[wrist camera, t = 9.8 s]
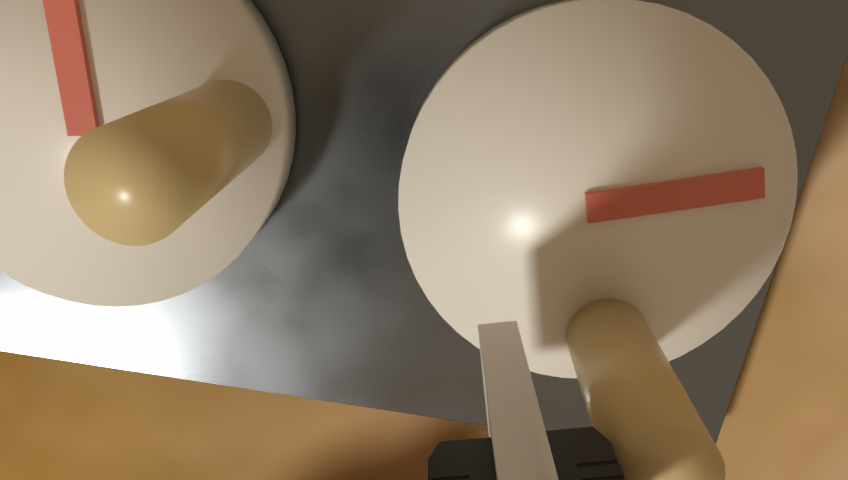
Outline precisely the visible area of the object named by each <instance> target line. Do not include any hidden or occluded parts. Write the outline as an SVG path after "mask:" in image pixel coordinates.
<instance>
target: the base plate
mask: <svg viewBox="0 0 848 480" xmlns="http://www.w3.org/2000/svg"><path fill="white" fill-rule="evenodd" d="M251 1H252V2H253V4H254V5H255V6H256V8H257V9H258V11H259V12H260V13H261V15H262V16H263V18H264V20H265V21H266V23H267V25H268V27H269V29H270V30H271V32H272V34H273V36H274V37H275V39H276V42H277V44H278V47H279V49H280V51H281V54H282V56H283V59H284V61H285V64H286V67H287V71H288V75H289V78H290V82H291V86H292V91H293V98H294V105H295V112H296V139H295V147H294V155H293V161H292V165H291V169H290V173H289V176H288V180H287V183H286V185H285V187H284V190H283V192H282V195H281V197H280V199H279V201H278V203H277V205H276V207H275V208H274V210H273V212H272V213H271V215H270V217H269V218H268V220H267V221H266V222H265V223H264V225H263V226H262V227H261V228H260V230H259V231H258V232H257V233H256V235H255V236H254V237H253V238H252V240H251V241H250V242H249V243H248V244H247V246H246V247H245V248H244V249H243V251H242V252H241V253H240V254H239V256H238V257H237V258H236V259H234V260H233V261H232V262H231V263H230V264H229V265H228V266H227V267H226V268H225V269H224V270H223V271H221V272H220V273H219V274H217V275H216V276H214V277H213V278H211V279H210V280H208V281H207V282H205V283H204V284H202V285H200V286H198V287H196V288H194V289H192V290H190V291H188V292H186V293H184V294H182V295H179V296H176V297H173V298H170V299H167V300H164V301H160V302H154V303H149V304H144V305H137V306H121V307H112V306H95V305H88V304H83V303H77V302H71V301H67V300H64V299H61V298H57V297H54V296H50V295H47V294H44V293H42V292H40V291H37V290H35V289H33V288H30V287H28V286H25V285H23V284H21V283H20V282H18V281H16V280H14V279H12V278H11V277H9V276H7V275H5V274H3V273H1V272H0V351H4V352H11V353H17V354H24V355H30V356H37V357H44V358H50V359H57V360H63V361H70V362H76V363H83V364H89V365H96V366H102V367H109V368H115V369H122V370H128V371H135V372H141V373H148V374H154V375H161V376H167V377H174V378H180V379H187V380H193V381H200V382H206V383H213V384H219V385H226V386H232V387H239V388H245V389H252V390H258V391H265V392H271V393H278V394H284V395H291V396H297V397H304V398H310V399H317V400H323V401H330V402H336V403H343V404H349V405H356V406H363V407H369V408H376V409H382V410H389V411H395V412H402V413H408V414H415V415H421V416H428V417H434V418H441V419H447V420H454V421H460V422H467V423H473V424H480V425H486V426H488V423H487V414H486V404H485V394H484V384H483V374H482V364H481V355H480V349H479V348H477V347H476V346H474V345H473V344H472V343H470V342H469V341H468V340H466V339H465V338H464V337H462V336H461V335H460V334H459V333H457V332H456V331H455V330H454V329H453V328H452V327H451V326H450V325H449V324H448V323H447V322H446V321H445V320H444V319H443V318H442V317H441V315H440V314H439V313H438V312H437V310H436V309H435V308H434V306H433V305H432V304H431V303H430V301H429V300H428V299H427V297H426V295H425V293H424V292H423V290H422V288H421V287H420V285H419V283H418V281H417V280H416V278H415V275H414V273H413V270H412V268H411V265H410V263H409V261H408V258H407V255H406V251H405V247H404V243H403V240H402V236H401V229H400V221H399V212H398V196H399V180H400V174H401V168H402V161H403V158H404V154H405V151H406V147H407V144H408V141H409V137H410V134H411V131H412V128H413V124H414V122H415V120H416V117H417V115H418V113H419V111H420V108H421V106H422V104H423V102H424V100H425V98H426V97H427V95H428V94H429V92H430V90H431V89H432V87H433V85H434V84H435V82H436V81H437V79H438V78H439V77H440V76H441V74H442V73H443V72H444V71H445V69H446V68H447V67H448V66H449V64H450V63H451V62H452V61H453V60H454V59H455V58H456V57H457V56H458V55H459V54H460V53H461V52H462V51H463V50H464V49H465V48H467V47H468V46H469V45H470V44H471V43H472V42H473V41H475V40H476V39H478V38H479V37H480V36H482V35H483V34H484V33H486V32H487V31H489V30H490V29H491V28H493V27H495V26H497V25H498V24H500V23H502V22H504V21H506V20H508V19H509V18H511V17H513V16H515V15H518V14H520V13H523V12H525V11H528V10H531V9H533V8H536V7H538V6H542V5H546V4H550V3H554V2H559V1H563V0H251ZM638 1H644V2H650V3H656V4H661V5H664V6H667V7H670V8H673V9H676V10H679V11H682V12H685V13H688V14H690V15H692V16H694V17H696V18H698V19H700V20H702V21H704V22H706V23H708V24H710V25H712V26H713V27H715V28H716V29H718V30H719V31H720V32H722V33H723V34H725V35H726V36H728V37H729V38H731V39H732V40H733V41H734V42H735V43H737V44H738V45H739V46H740V47H741V48H742V49H743V50H744V51H745V52H746V53H747V54H748V55H749V56H750V57H751V58H752V59H753V60H754V61H755V62H756V64H757V65H758V66H759V67H760V69H761V70H762V71H763V73H764V74H765V75H766V76H767V78H768V79H769V81H770V82H771V84H772V86H773V88H774V90H775V91H776V93H777V95H778V97H779V98H780V100H781V102H782V105H783V107H784V110H785V112H786V115H787V118H788V120H789V123H790V126H791V130H792V135H793V139H794V144H795V148H796V157H797V171H798V181H797V195H796V204H795V208H796V205H797V202H798V199H799V197H800V194H801V191H802V188H803V185H804V182H805V179H806V176H807V173H808V170H809V167H810V164H811V161H812V158H813V155H814V152H815V149H816V146H817V143H818V140H819V137H820V135H821V132H822V129H823V126H824V123H825V120H826V117H827V114H828V111H829V108H830V105H831V102H832V99H833V96H834V93H835V90H836V87H837V84H838V81H839V78H840V75H841V72H842V70H843V67H844V64H845V61H846V58H847V55H848V0H638ZM794 211H795V209H794ZM778 259H779V258H778ZM777 261H778V260H777ZM776 264H777V262H776ZM776 264H775V266H774V268H773V270H772V272H771V274H770V275H769V277H768V278H767V280H766V281H765V283H764V284H763V286H762V287H761V289H760V290H759V291H758V293H757V294H756V295H755V297H754V298H753V299H752V300H751V301H750V302H749V304H748V305H747V306H746V307H745V308H744V309H743V311H742V312H741V313H740V314H739V315H738V316H736V317H735V318H734V319H733V320H732V321H731V322H730V323H729V324H728V325H727V326H726V327H725V328H723V329H722V330H721V331H720V332H718V333H717V334H715V335H714V336H713V337H711V338H710V339H709V340H707V341H706V342H704V343H703V344H702V345H700V346H698V347H696V348H695V349H693V350H691V351H689V352H687V353H686V354H684V355H682V356H680V357H678V358H676V359H673V360H671V361H669V363H670V365H671V367H672V368H673V370H674V372H675V374H676V375H677V377H678V379H679V381H680V383H681V384H682V386H683V388H684V390H685V391H686V393H687V395H688V397H689V398H690V400H691V402H692V404H693V406H694V407H695V409H696V411H697V413H698V414H699V416H700V418H701V420H702V421H703V423H704V425H705V427H706V429H707V430H708V432H709V434H710V436H711V437H712V439H713V441H714V443H715V444H716V442H717V439H718V436H719V433H720V430H721V427H722V424H723V421H724V418H725V415H726V412H727V409H728V406H729V403H730V400H731V397H732V394H733V391H734V388H735V386H736V383H737V380H738V377H739V374H740V371H741V368H742V365H743V362H744V359H745V356H746V353H747V350H748V347H749V344H750V341H751V338H752V335H753V332H754V329H755V326H756V324H757V321H758V318H759V315H760V312H761V309H762V306H763V303H764V300H765V297H766V294H767V291H768V288H769V285H770V282H771V279H772V276H773V273H774V270H775V267H776ZM530 374H531V378H532V381H533V385H534V389H535V393H536V396H537V400H538V404H539V408H540V412H541V415H542V419H543V423H544V427H545V430H546V431H549V430H559V429H570V428H580V427H591V426H592V424H591V421H590V417H589V414H588V411H587V408H586V404H585V401H584V398H583V395H582V392H581V388H580V385H579V382H578V379H577V378H561V377H555V376H549V375H543V374H538V373H535V372H531V371H530Z"/></svg>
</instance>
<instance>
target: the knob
mask: <svg viewBox="0 0 848 480" xmlns="http://www.w3.org/2000/svg"><path fill="white" fill-rule="evenodd" d="M797 181H798V171H797V157H796V148H795V144H794V139H793V135H792V130H791V126H790V123H789V120H788V118H787V115H786V112H785V110H784V107H783V105H782V102H781V100H780V98H779V97H778V95H777V93H776V91H775V90H774V88H773V86H772V84H771V82H770V81H769V79H768V78H767V76H766V75H765V74H764V73H763V71H762V70H761V69H760V67H759V66H758V65H757V64H756V62H755V61H754V60H753V59H752V58H751V57H750V56H749V55H748V54H747V53H746V52H745V51H744V50H743V49H742V48H741V47H740V46H739V45H738V44H737V43H735V42H734V41H733V40H732V39H731V38H729V37H728V36H726V35H725V34H723V33H722V32H720V31H719V30H718V29H716V28H715V27H713V26H712V25H710V24H708V23H706V22H704V21H702V20H700V19H698V18H696V17H694V16H692V15H690V14H688V13H685V12H682V11H679V10H676V9H673V8H670V7H667V6H664V5H661V4H656V3H650V2H644V1H638V0H563V1H559V2H554V3H550V4H546V5H542V6H538V7H536V8H533V9H531V10H528V11H525V12H523V13H520V14H518V15H515V16H513V17H511V18H509V19H508V20H506V21H504V22H502V23H500V24H498V25H497V26H495V27H493V28H491V29H490V30H489V31H487V32H486V33H484V34H483V35H482V36H480V37H479V38H478V39H476V40H475V41H473V42H472V43H471V44H470V45H469V46H468V47H467V48H465V49H464V50H463V51H462V52H461V53H460V54H459V55H458V56H457V57H456V58H455V59H454V60H453V61H452V62H451V63H450V64H449V66H448V67H447V68H446V69H445V71H444V72H443V73H442V74H441V76H440V77H439V78H438V79H437V81H436V82H435V84H434V85H433V87H432V89H431V90H430V92H429V94H428V95H427V97H426V98H425V100H424V102H423V104H422V106H421V108H420V111H419V113H418V115H417V117H416V120H415V122H414V124H413V128H412V131H411V134H410V137H409V141H408V144H407V147H406V151H405V154H404V158H403V161H402V168H401V174H400V180H399V196H398V212H399V221H400V229H401V236H402V240H403V243H404V247H405V251H406V255H407V258H408V261H409V263H410V265H411V268H412V270H413V273H414V275H415V278H416V280H417V281H418V283H419V285H420V287H421V288H422V290H423V292H424V293H425V295H426V297H427V299H428V300H429V301H430V303H431V304H432V305H433V306H434V308H435V309H436V310H437V312H438V313H439V314H440V315H441V317H442V318H443V319H444V320H445V321H446V322H447V323H448V324H449V325H450V326H451V327H452V328H453V329H454V330H455V331H456V332H457V333H459V334H460V335H461V336H462V337H464V338H465V339H466V340H468V341H469V342H470V343H472V344H473V345H474V346H476V347H477V348H479V349H480V345H479V335H478V325H477V324H487V323H497V322H507V321H517V325H518V329H519V332H520V336H521V340H522V344H523V347H524V351H525V355H526V359H527V363H528V366H529V370H530V371H531V372H535V373H538V374H543V375H549V376H555V377H561V378H577V379H578V382H579V385H580V388H581V392H582V395H583V398H584V401H585V404H586V408H587V411H588V414H589V417H590V421H591V424H592V426H593V427H594V428H595V429H597V430H598V431H599V432H600V433H601V434H602V435H604V436H605V437H606V438H607V439H608V440H609V441H610V442H611V444H612V447H613V449H614V452H615V454H616V457H617V459H618V464H620V466H621V469H622V471H623V474H624V478H625V479H626V480H724V479H725V464H724V461H723V458H722V456H721V453H720V452H719V450H718V448H717V446H716V444H715V443H714V441H713V439H712V437H711V436H710V434H709V432H708V430H707V429H706V427H705V425H704V423H703V421H702V420H701V418H700V416H699V414H698V413H697V411H696V409H695V407H694V406H693V404H692V402H691V400H690V398H689V397H688V395H687V393H686V391H685V390H684V388H683V386H682V384H681V383H680V381H679V379H678V377H677V375H676V374H675V372H674V370H673V368H672V367H671V365H670V363H669V361H671V360H673V359H676V358H678V357H680V356H682V355H684V354H686V353H687V352H689V351H691V350H693V349H695V348H696V347H698V346H700V345H702V344H703V343H704V342H706V341H707V340H709V339H710V338H711V337H713V336H714V335H715V334H717V333H718V332H720V331H721V330H722V329H723V328H725V327H726V326H727V325H728V324H729V323H730V322H731V321H732V320H733V319H734V318H735V317H736V316H738V315H739V314H740V313H741V312H742V311H743V309H744V308H745V307H746V306H747V305H748V304H749V302H750V301H751V300H752V299H753V298H754V297H755V295H756V294H757V293H758V291H759V290H760V289H761V287H762V286H763V284H764V283H765V281H766V280H767V278H768V277H769V275H770V274H771V272H772V270H773V268H774V266H775V264H776V262H777V260H778V258H779V256H780V254H781V252H782V250H783V247H784V244H785V242H786V239H787V236H788V233H789V230H790V227H791V223H792V219H793V214H794V209H795V204H796V195H797Z"/></svg>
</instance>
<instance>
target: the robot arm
mask: <svg viewBox="0 0 848 480" xmlns="http://www.w3.org/2000/svg"><path fill="white" fill-rule="evenodd" d="M477 325H478V335H479V345H480V355H481V364H482V374H483V384H484V394H485V404H486V414H487V423H488V432H489V438H478V439H467V440H457V441H446V442H439V443H438V445H437V447H436V448H435V450H434V451H433V453H432V455H431V456H430V458H429V459H428V480H626V479H625V478H624V474H623V471H622V469H621V466H620V464H618V459H617V457H616V454H615V452H614V449H613V447H612V444H611V442H610V441H609V440H608V439H607V438H606V437H605V436H604V435H602V434H601V433H600V432H599V431H598V430H597V429H595V428H594V427H593V426H591V427H580V428H570V429H559V430H549V431H546V430H545V427H544V423H543V419H542V415H541V412H540V408H539V404H538V400H537V396H536V393H535V389H534V385H533V381H532V378H531V374H530V370H529V366H528V363H527V359H526V355H525V351H524V347H523V344H522V340H521V336H520V332H519V329H518V325H517V321H507V322H497V323H487V324H477Z"/></svg>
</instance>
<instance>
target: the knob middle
mask: <svg viewBox="0 0 848 480" xmlns="http://www.w3.org/2000/svg"><path fill="white" fill-rule="evenodd" d="M295 139H296V112H295V105H294V98H293V91H292V86H291V82H290V78H289V75H288V71H287V67H286V64H285V61H284V59H283V56H282V54H281V51H280V49H279V47H278V44H277V42H276V39H275V37H274V36H273V34H272V32H271V30H270V29H269V27H268V25H267V23H266V21H265V20H264V18H263V16H262V15H261V13H260V12H259V11H258V9H257V8H256V6H255V5H254V4H253V2H252V1H251V0H0V272H1V273H3V274H5V275H7V276H9V277H11V278H12V279H14V280H16V281H18V282H20V283H21V284H23V285H25V286H28V287H30V288H33V289H35V290H37V291H40V292H42V293H44V294H47V295H50V296H54V297H57V298H61V299H64V300H67V301H71V302H77V303H83V304H88V305H95V306H112V307H121V306H137V305H144V304H149V303H154V302H160V301H164V300H167V299H170V298H173V297H176V296H179V295H182V294H184V293H186V292H188V291H190V290H192V289H194V288H196V287H198V286H200V285H202V284H204V283H205V282H207V281H208V280H210V279H211V278H213V277H214V276H216V275H217V274H219V273H220V272H221V271H223V270H224V269H225V268H226V267H227V266H228V265H229V264H230V263H231V262H232V261H233V260H234V259H236V258H237V257H238V256H239V254H240V253H241V252H242V251H243V249H244V248H245V247H246V246H247V244H248V243H249V242H250V241H251V240H252V238H253V237H254V236H255V235H256V233H257V232H258V231H259V230H260V228H261V227H262V226H263V225H264V223H265V222H266V221H267V220H268V218H269V217H270V215H271V213H272V212H273V210H274V208H275V207H276V205H277V203H278V201H279V199H280V197H281V195H282V192H283V190H284V187H285V185H286V183H287V180H288V176H289V173H290V169H291V165H292V161H293V155H294V147H295Z"/></svg>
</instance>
